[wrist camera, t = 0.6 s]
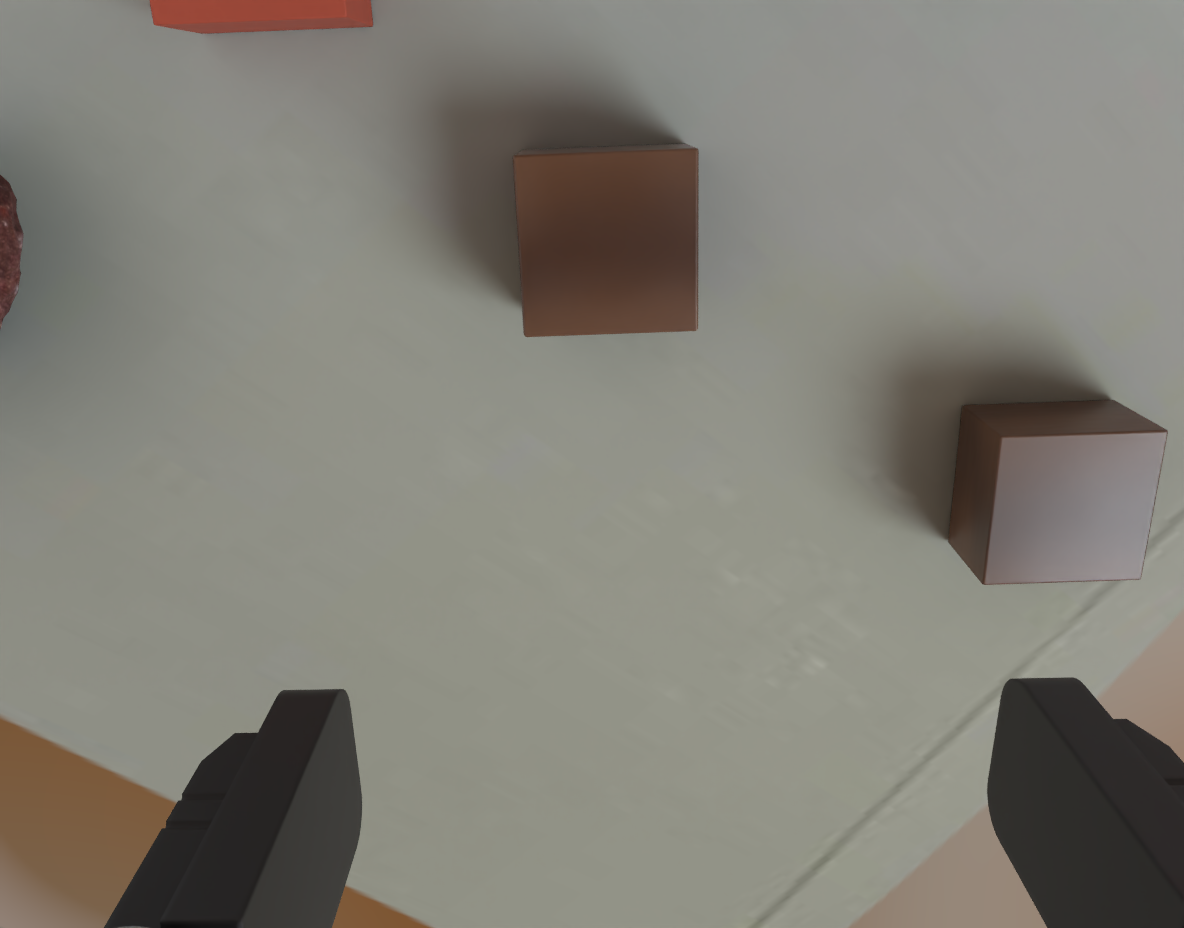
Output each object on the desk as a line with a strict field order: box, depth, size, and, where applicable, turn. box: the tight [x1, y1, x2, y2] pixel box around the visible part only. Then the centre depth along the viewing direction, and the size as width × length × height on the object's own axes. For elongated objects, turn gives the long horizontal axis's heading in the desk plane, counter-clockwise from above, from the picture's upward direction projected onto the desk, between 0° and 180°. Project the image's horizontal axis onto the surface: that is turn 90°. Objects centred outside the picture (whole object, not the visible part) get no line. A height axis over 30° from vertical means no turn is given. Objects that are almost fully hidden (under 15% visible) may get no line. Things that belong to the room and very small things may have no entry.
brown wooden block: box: [513, 143, 698, 337], centre depth 28 cm, size 5×5×3 cm
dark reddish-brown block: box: [948, 400, 1168, 585], centre depth 31 cm, size 5×5×3 cm
